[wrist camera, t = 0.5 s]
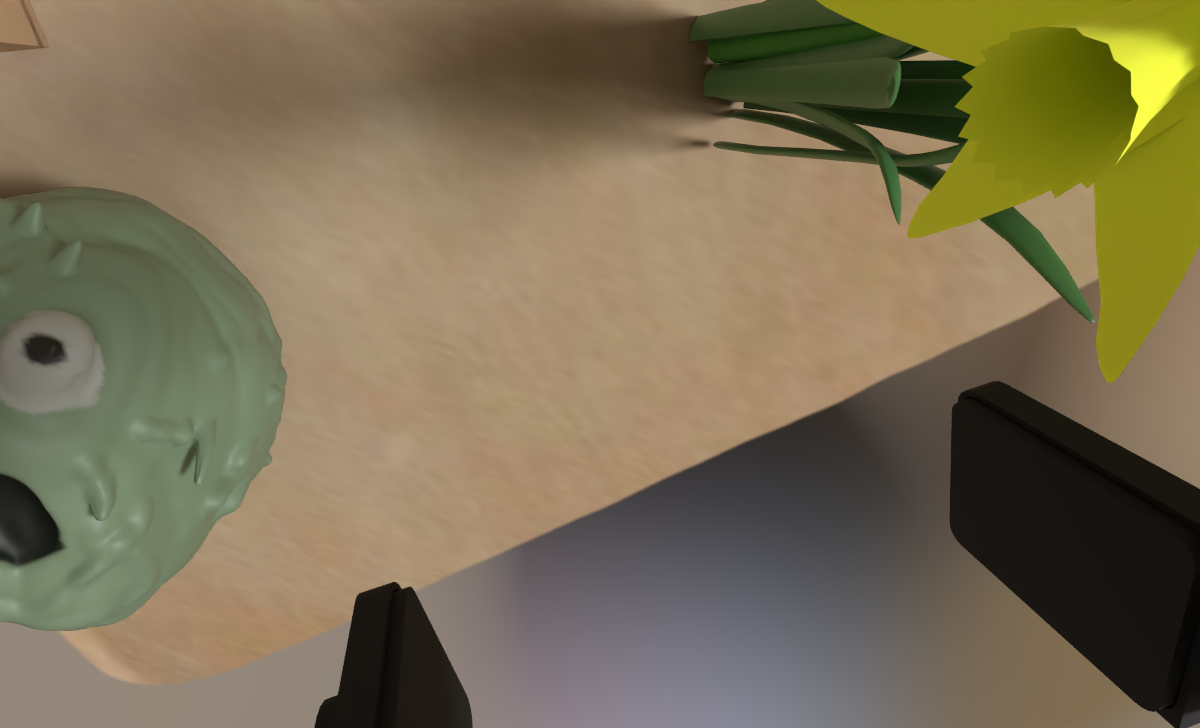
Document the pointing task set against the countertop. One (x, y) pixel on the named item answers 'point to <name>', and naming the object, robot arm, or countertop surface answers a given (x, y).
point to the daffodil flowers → (998, 121)
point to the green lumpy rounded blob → (120, 401)
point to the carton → (19, 26)
